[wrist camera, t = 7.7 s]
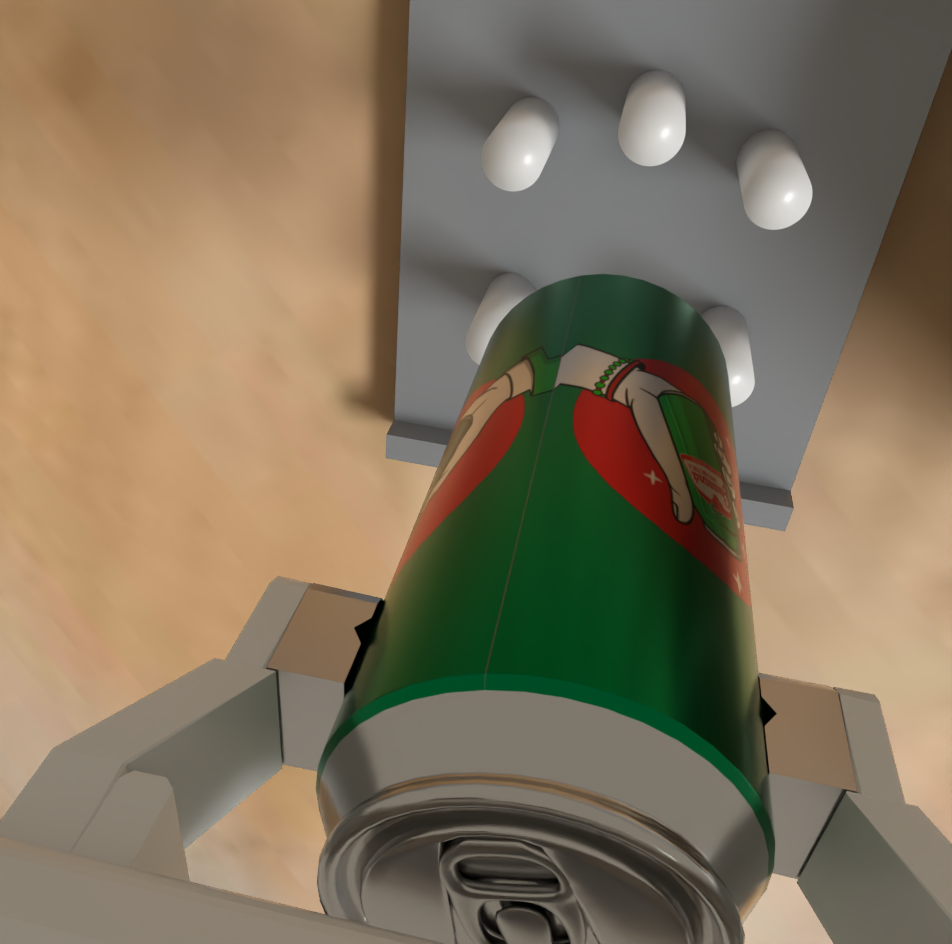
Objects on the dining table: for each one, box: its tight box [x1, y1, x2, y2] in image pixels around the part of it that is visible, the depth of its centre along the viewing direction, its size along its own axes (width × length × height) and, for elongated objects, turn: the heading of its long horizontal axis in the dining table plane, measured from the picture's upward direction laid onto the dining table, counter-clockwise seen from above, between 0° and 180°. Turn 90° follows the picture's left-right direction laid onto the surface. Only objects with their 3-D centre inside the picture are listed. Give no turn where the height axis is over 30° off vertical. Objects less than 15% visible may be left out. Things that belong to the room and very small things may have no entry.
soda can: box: [316, 274, 776, 944], centre depth 14 cm, size 5×5×12 cm
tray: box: [386, 0, 952, 531], centre depth 25 cm, size 14×18×5 cm
